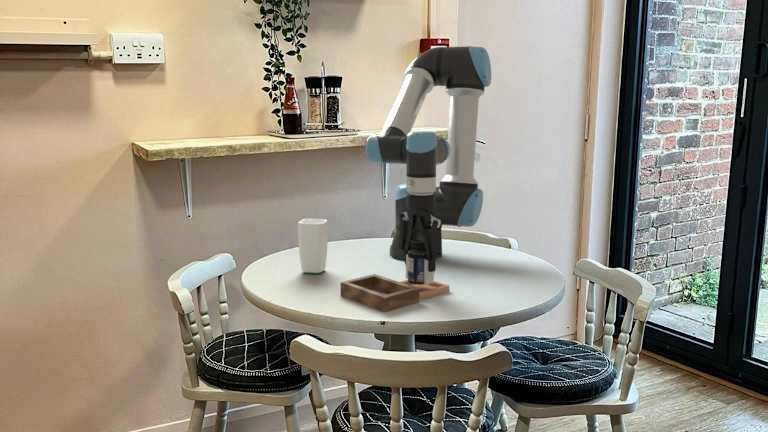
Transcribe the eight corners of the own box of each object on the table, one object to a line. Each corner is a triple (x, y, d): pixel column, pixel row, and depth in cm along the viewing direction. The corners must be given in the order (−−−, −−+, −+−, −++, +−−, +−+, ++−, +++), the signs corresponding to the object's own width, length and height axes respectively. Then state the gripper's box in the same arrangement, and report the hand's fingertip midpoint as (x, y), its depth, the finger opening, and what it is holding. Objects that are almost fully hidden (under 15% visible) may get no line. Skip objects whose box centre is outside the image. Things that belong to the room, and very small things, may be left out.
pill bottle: (433, 279, 178) (434, 239, 176) (427, 286, 173) (428, 244, 170) (411, 277, 180) (411, 237, 178) (404, 283, 175) (404, 242, 172)
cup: (297, 274, 192) (296, 223, 189) (306, 267, 199) (305, 218, 196) (321, 276, 190) (320, 224, 187) (329, 269, 197) (329, 219, 194)
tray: (389, 290, 177) (389, 284, 177) (419, 282, 185) (419, 276, 184) (419, 300, 169) (419, 294, 169) (449, 291, 176) (449, 285, 176)
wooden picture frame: (340, 295, 173) (340, 282, 172) (374, 286, 180) (374, 274, 180) (384, 312, 160) (384, 297, 160) (419, 302, 168) (419, 288, 167)
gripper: (385, 189, 176) (384, 275, 181) (437, 199, 162) (435, 291, 167) (405, 187, 181) (405, 270, 186) (458, 195, 167) (456, 285, 172)
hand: (419, 280), depth 176 cm, fingers closed on pill bottle, 6 cm apart
